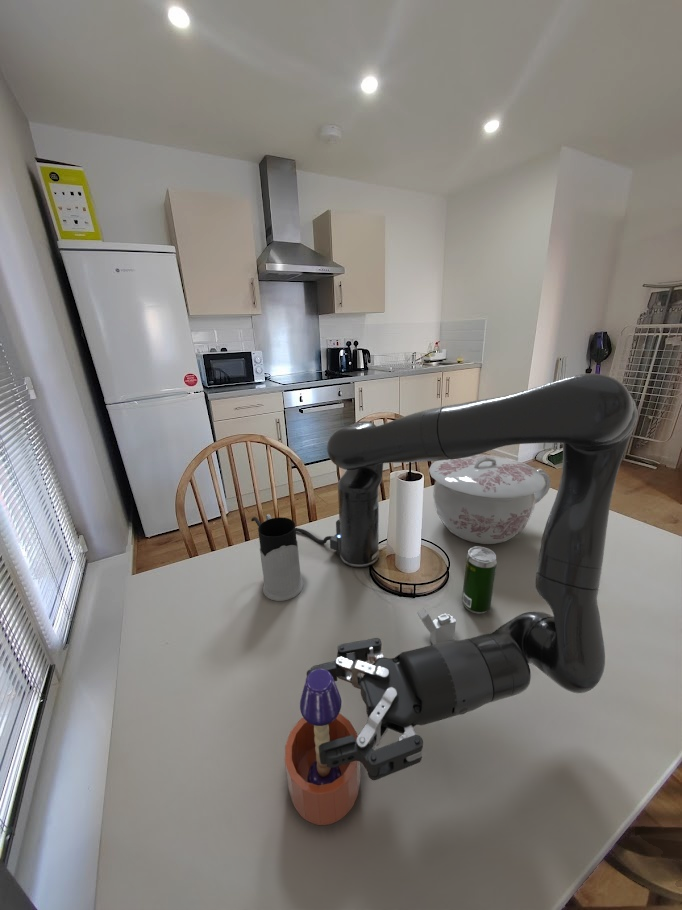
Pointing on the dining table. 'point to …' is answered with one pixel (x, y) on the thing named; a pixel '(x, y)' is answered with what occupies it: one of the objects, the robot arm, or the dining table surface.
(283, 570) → the glass holder
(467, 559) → the beer can
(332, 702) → the toy lamp
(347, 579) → the dining table surface
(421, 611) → the lighter
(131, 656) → the dining table surface
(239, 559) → the dining table surface
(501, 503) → the chamber pot
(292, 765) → the orange cylindrical pot
